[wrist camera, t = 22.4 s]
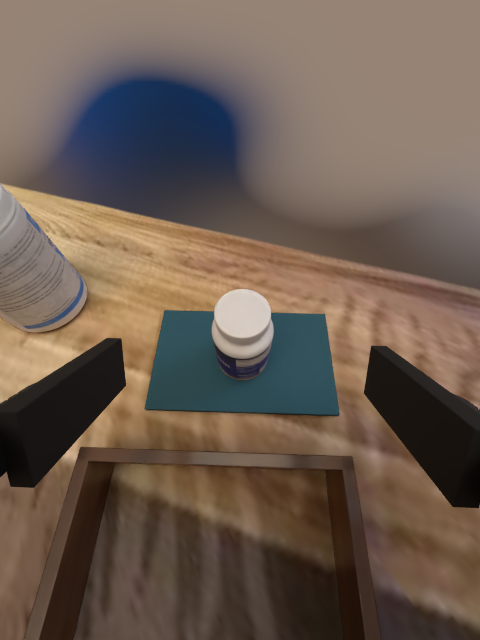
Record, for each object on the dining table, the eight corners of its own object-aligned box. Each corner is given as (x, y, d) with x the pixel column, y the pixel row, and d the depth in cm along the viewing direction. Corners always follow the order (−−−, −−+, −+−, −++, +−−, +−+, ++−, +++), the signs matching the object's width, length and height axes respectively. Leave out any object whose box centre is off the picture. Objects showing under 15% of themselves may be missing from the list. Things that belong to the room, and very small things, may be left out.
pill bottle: (211, 343, 31) (199, 293, 23) (257, 328, 32) (262, 275, 24) (226, 389, 29) (219, 352, 20) (275, 372, 30) (289, 330, 21)
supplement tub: (102, 279, 37) (27, 175, 24) (69, 341, 32) (-45, 253, 19) (37, 270, 38) (-69, 166, 25) (-5, 329, 33) (-160, 238, 20)
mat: (323, 316, 34) (324, 313, 33) (338, 416, 28) (339, 415, 27) (165, 312, 34) (164, 310, 34) (145, 409, 28) (144, 409, 28)
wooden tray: (334, 459, 26) (352, 456, 21) (375, 783, 17) (421, 890, 12) (106, 451, 26) (80, 446, 22) (29, 762, 17) (-43, 859, 13)
